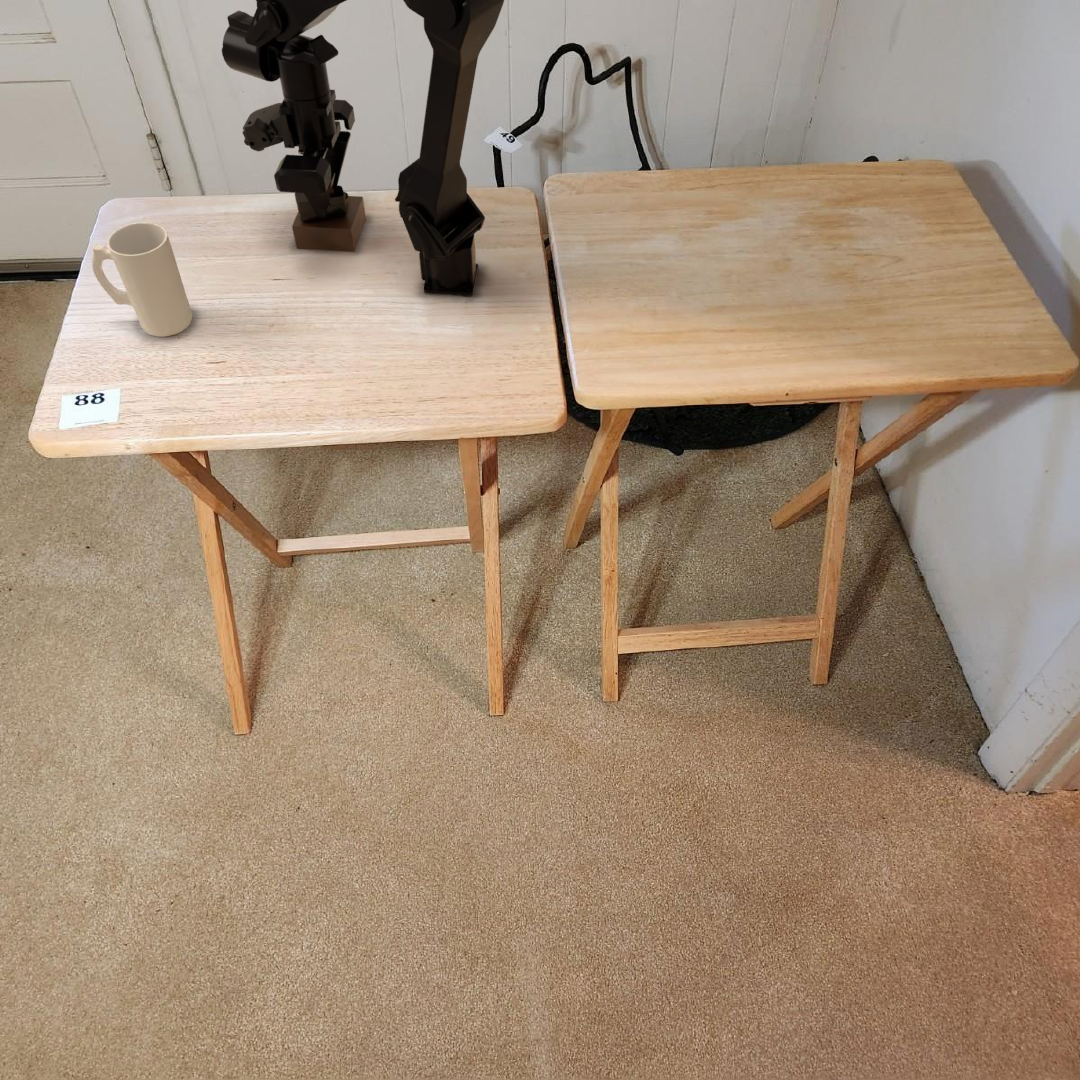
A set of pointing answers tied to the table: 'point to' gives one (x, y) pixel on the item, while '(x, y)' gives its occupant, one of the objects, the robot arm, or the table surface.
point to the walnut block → (332, 229)
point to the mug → (146, 277)
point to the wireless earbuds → (334, 208)
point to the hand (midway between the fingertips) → (326, 204)
